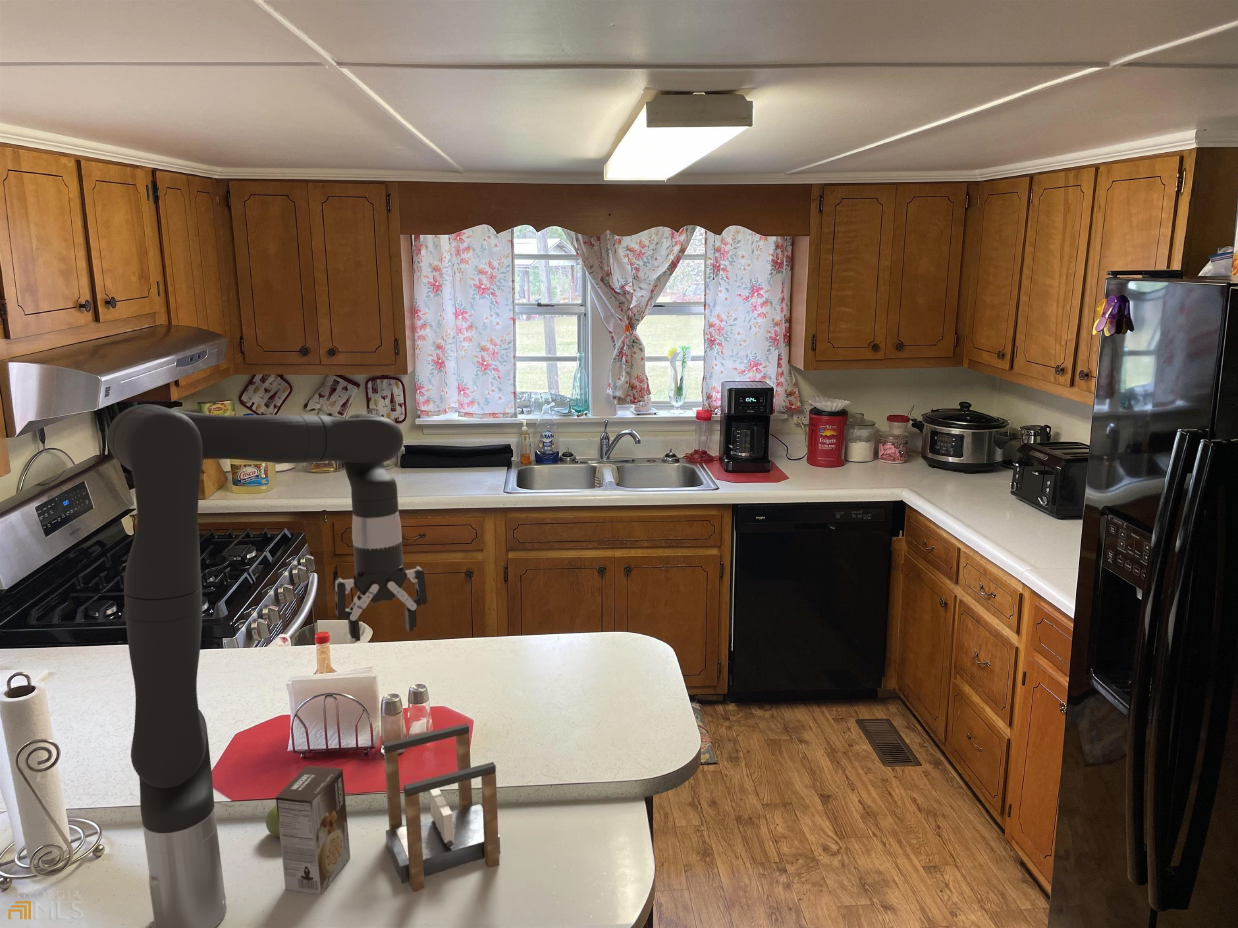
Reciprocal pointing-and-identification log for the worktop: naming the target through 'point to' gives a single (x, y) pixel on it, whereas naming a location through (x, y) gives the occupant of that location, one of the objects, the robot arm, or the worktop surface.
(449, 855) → the breaker panel
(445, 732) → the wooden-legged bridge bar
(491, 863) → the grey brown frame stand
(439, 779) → the grey crossbeam plank
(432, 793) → the bar
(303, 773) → the coffee box
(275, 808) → the green eggplant
